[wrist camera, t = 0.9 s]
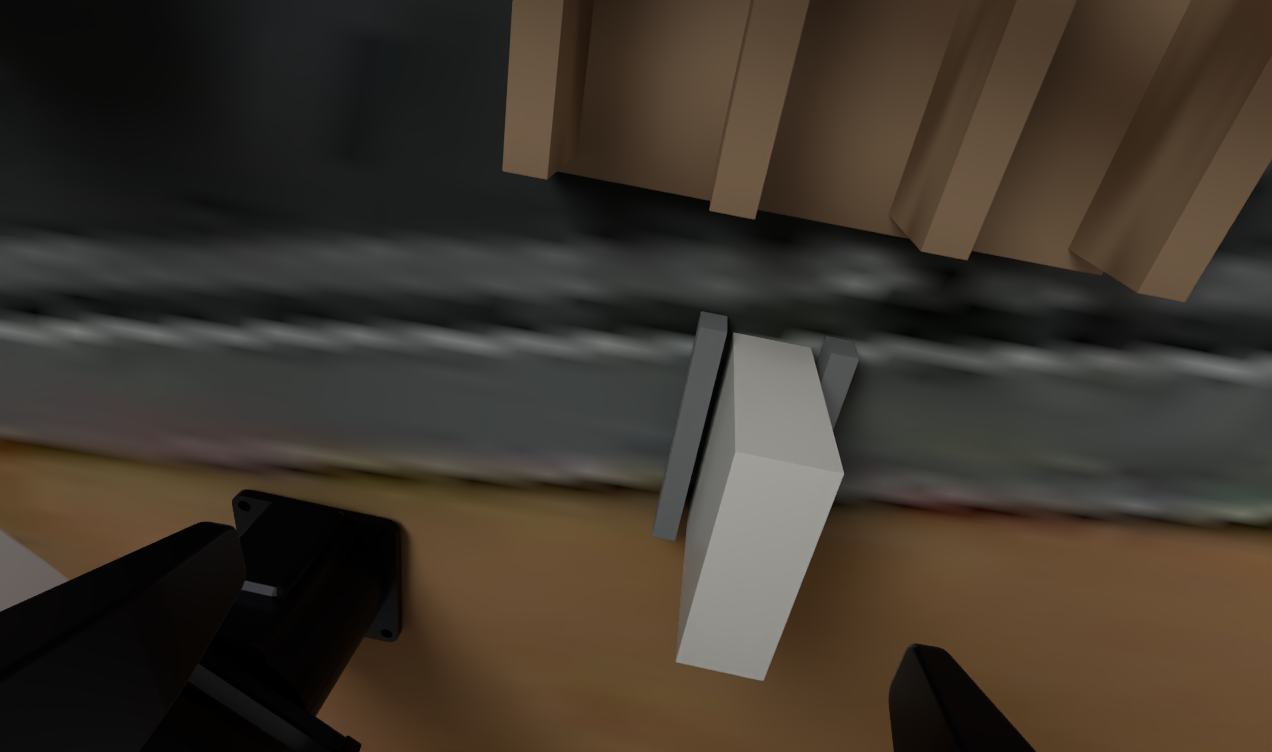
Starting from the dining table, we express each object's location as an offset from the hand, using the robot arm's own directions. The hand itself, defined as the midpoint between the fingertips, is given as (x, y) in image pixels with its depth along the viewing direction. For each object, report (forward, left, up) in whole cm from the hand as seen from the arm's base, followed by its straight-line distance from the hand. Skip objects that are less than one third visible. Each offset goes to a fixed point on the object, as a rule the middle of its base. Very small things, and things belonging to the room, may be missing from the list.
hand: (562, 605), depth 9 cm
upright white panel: (-4, -4, -13) cm, 14 cm away
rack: (+8, -4, -12) cm, 15 cm away
